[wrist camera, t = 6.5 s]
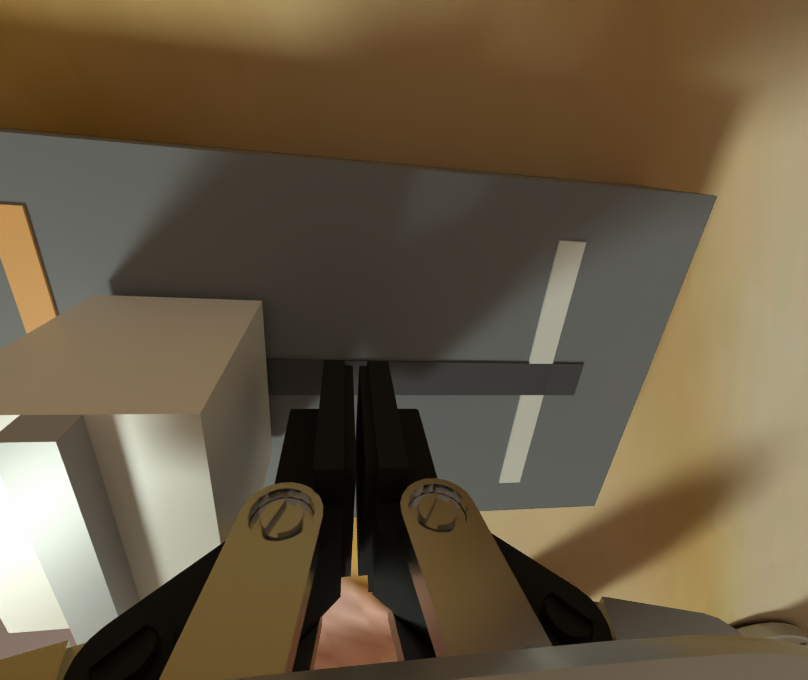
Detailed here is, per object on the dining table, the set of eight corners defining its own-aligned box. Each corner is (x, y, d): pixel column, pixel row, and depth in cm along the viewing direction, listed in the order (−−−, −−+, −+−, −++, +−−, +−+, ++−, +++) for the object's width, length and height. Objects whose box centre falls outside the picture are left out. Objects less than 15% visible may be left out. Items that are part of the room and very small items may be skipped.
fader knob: (262, 300, 11) (185, 439, 6) (272, 449, 13) (224, 647, 8) (93, 294, 10) (-165, 445, 5) (134, 452, 12) (-18, 670, 7)
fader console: (645, 186, 14) (719, 196, 11) (559, 455, 19) (595, 507, 16) (-102, 119, 10) (-260, 108, 8) (36, 467, 16) (-30, 536, 13)
